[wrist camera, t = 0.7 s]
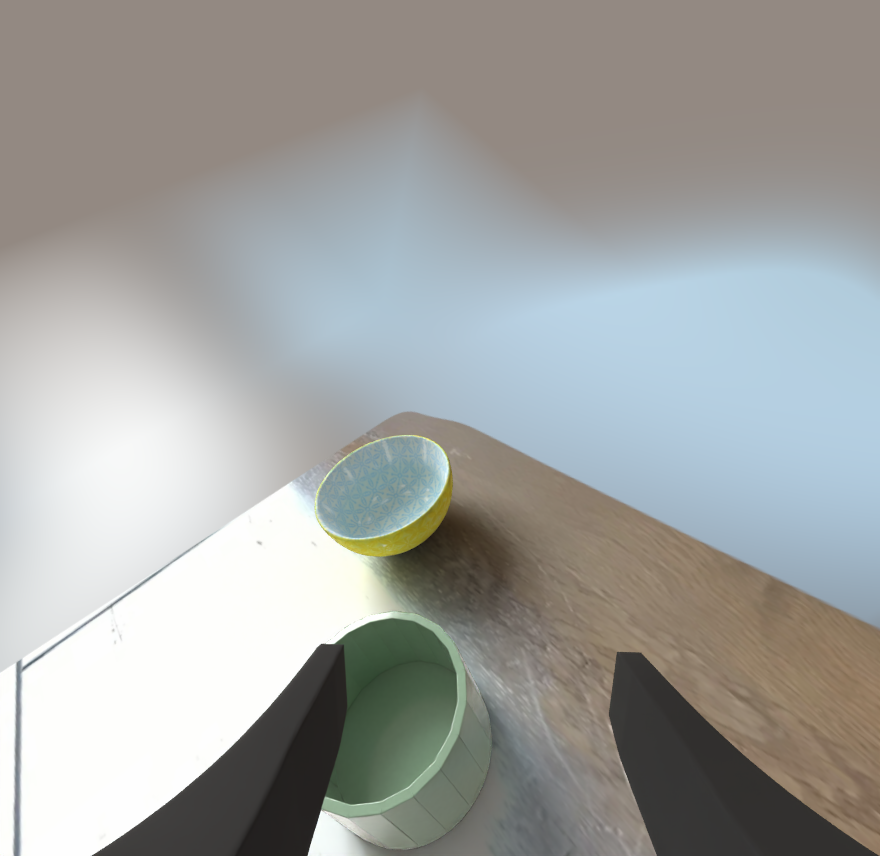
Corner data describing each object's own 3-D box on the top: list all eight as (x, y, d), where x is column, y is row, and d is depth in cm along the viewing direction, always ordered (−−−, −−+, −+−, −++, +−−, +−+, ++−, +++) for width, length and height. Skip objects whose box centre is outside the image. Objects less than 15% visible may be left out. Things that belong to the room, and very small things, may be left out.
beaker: (528, 747, 27) (507, 702, 24) (384, 904, 24) (334, 878, 20) (428, 629, 35) (400, 581, 31) (307, 736, 31) (260, 696, 28)
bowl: (492, 497, 43) (476, 445, 39) (421, 609, 36) (393, 558, 32) (394, 472, 49) (372, 425, 46) (319, 563, 43) (286, 516, 39)
